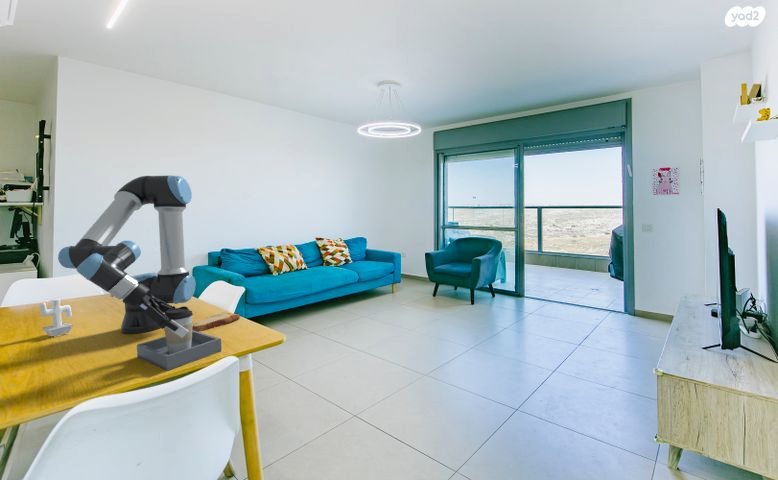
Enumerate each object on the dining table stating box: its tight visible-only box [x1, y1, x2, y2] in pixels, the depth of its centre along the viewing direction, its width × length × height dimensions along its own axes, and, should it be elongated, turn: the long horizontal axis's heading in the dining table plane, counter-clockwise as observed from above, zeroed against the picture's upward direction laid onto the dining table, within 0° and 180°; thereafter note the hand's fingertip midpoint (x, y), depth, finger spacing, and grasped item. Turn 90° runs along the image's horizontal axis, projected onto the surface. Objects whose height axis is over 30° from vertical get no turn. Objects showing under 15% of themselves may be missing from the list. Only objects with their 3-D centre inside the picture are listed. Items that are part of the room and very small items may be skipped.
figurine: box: [39, 298, 74, 337], centre depth 143 cm, size 7×9×15 cm
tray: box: [136, 330, 223, 372], centre depth 122 cm, size 20×18×4 cm
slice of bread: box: [192, 312, 241, 332], centre depth 156 cm, size 18×18×4 cm
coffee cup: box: [163, 306, 194, 354], centre depth 122 cm, size 9×9×15 cm
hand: (186, 328), depth 123 cm, fingers open, 13 cm apart
